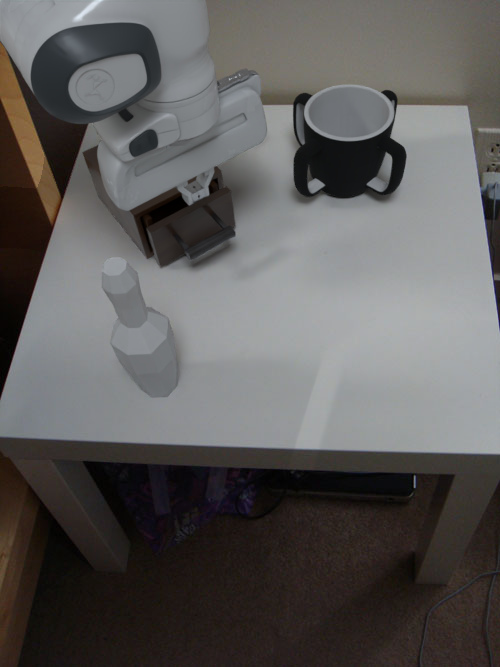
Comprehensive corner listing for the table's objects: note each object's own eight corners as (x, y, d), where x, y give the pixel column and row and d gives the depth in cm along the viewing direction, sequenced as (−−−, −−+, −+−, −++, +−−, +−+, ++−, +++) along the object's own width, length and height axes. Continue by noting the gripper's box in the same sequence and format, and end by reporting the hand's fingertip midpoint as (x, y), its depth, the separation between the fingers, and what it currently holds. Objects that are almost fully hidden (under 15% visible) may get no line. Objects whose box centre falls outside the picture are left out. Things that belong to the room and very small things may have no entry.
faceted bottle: (173, 410, 71) (131, 300, 53) (125, 396, 72) (67, 285, 54) (192, 365, 74) (159, 247, 56) (146, 353, 76) (98, 234, 57)
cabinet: (227, 215, 88) (221, 170, 81) (147, 259, 84) (133, 215, 77) (174, 159, 95) (164, 113, 88) (98, 196, 92) (81, 152, 85)
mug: (398, 145, 94) (411, 76, 84) (396, 220, 85) (410, 153, 75) (295, 140, 96) (295, 72, 86) (283, 213, 87) (281, 146, 77)
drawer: (254, 246, 83) (251, 211, 77) (178, 289, 80) (169, 256, 74) (184, 171, 92) (176, 135, 87) (113, 206, 89) (100, 171, 84)
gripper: (242, 49, 67) (251, 148, 78) (77, 125, 61) (113, 219, 73) (275, 75, 64) (279, 175, 75) (104, 157, 58) (137, 251, 70)
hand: (196, 197), depth 74 cm, fingers closed
